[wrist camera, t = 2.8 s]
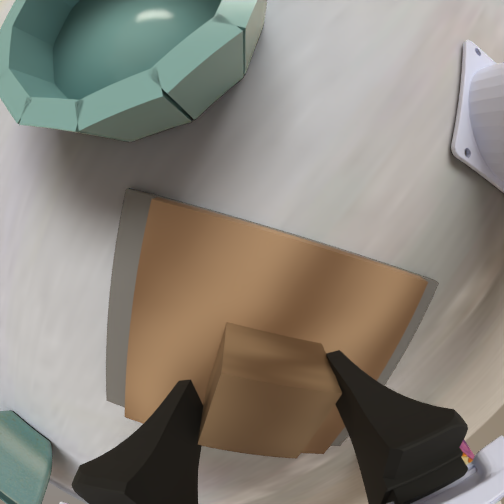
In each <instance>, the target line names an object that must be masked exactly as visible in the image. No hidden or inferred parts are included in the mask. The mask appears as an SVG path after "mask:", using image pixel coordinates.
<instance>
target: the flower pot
mask: <svg viewBox="0 0 504 504" xmlns="http://www.w3.org/2000/svg"><path fill="white" fill-rule="evenodd" d="M51 469H52V448H51V443H50V442H49V441H48V440H47V439H46V438H44V437H43V436H42V435H40V434H39V433H38V432H36V431H35V430H34V429H33V428H31V427H30V426H29V425H28V424H27V423H25V422H24V421H23V420H22V419H21V418H20V417H18V416H17V415H16V414H15V413H14V412H13V411H11V410H10V411H0V499H1V500H2V501H4V502H5V503H6V504H42V501H43V498H44V495H45V492H46V489H47V485H48V482H49V479H50V475H51Z"/></svg>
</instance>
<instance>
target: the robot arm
mask: <svg viewBox="0 0 504 504" xmlns="http://www.w3.org/2000/svg"><path fill="white" fill-rule="evenodd" d="M451 149H452V153H453V155H454V156H455V157H456V158H458V159H459V160H460V161H462V162H463V163H465V164H466V165H468V166H469V167H470V168H472V169H473V170H475V171H476V172H477V173H479V174H480V175H481V176H483V177H484V178H485V179H487V180H488V181H489V182H490V183H492V184H493V185H494V186H495V187H497V188H498V189H499V190H500V191H502V192H503V193H504V62H501V63H498V64H497V63H496V62H494V61H493V60H492V59H491V58H490V57H489V56H488V55H487V54H486V53H485V52H483V51H482V50H481V49H480V48H479V47H478V46H476V45H475V44H474V43H473V42H472V41H470V40H467V41H465V42H463V59H462V74H461V85H460V94H459V102H458V109H457V116H456V122H455V128H454V134H453V139H452V144H451ZM465 150H466V156H465ZM326 356H327V359H328V361H329V364H330V366H331V368H332V371H333V372H334V374H335V376H336V379H337V381H338V384H339V386H340V389H341V391H342V395H341V396H340V398H339V399H338V401H337V402H336V404H335V405H336V407H337V409H338V411H339V414H340V416H341V418H342V420H343V423H344V425H345V427H346V429H347V432H348V434H349V436H350V438H351V441H352V444H353V446H354V450H355V453H356V456H357V460H358V463H359V467H360V470H361V474H362V478H363V482H364V486H365V490H366V494H367V498H368V502H369V504H495V503H496V502H498V501H499V500H500V499H502V498H503V497H504V437H503V436H499V437H498V438H496V439H495V440H494V441H492V442H491V443H490V444H488V445H487V446H485V447H484V448H482V449H481V450H480V451H479V452H478V453H477V454H476V455H475V457H474V459H473V461H472V462H470V463H469V464H467V465H466V464H465V462H464V461H463V459H462V457H461V456H462V455H463V452H462V450H461V449H460V445H461V444H462V442H463V440H464V438H465V436H466V433H467V430H468V427H467V424H466V423H465V421H464V420H463V419H462V417H461V416H460V415H459V414H458V413H457V412H456V411H455V410H454V409H448V408H442V407H437V406H432V405H429V404H425V403H422V402H419V401H416V400H413V399H411V398H408V397H405V396H403V395H401V394H399V393H397V392H395V391H393V390H391V389H389V388H387V387H386V386H384V385H382V384H381V383H379V382H378V381H376V380H375V379H373V378H372V377H371V376H369V375H368V374H367V373H365V372H364V371H363V370H361V369H360V368H359V367H358V366H357V365H355V364H354V363H353V362H352V361H351V360H350V359H349V358H348V357H347V356H346V355H345V354H344V353H343V352H342V351H340V350H338V351H334V352H330V353H326ZM202 412H203V404H202V402H201V400H200V398H199V396H198V393H197V391H196V389H195V387H194V385H193V383H192V381H191V379H190V380H181V381H178V382H177V384H176V385H175V386H174V388H173V389H172V390H171V392H170V393H169V394H168V395H167V397H166V398H165V399H164V401H163V402H162V403H161V404H160V406H159V407H158V408H157V409H156V410H155V412H154V413H153V414H152V415H151V416H150V417H149V418H148V419H147V421H146V422H145V423H144V424H143V425H142V426H141V427H140V428H139V429H138V430H136V431H135V432H134V433H133V434H132V435H131V436H130V437H128V438H127V439H126V440H124V441H123V442H122V443H120V444H119V445H118V446H116V447H115V448H113V449H112V450H110V451H108V452H107V453H105V454H103V455H101V456H100V457H98V458H96V459H93V460H91V461H89V462H87V463H85V464H82V465H80V466H79V469H78V471H77V473H76V475H75V478H74V480H73V482H72V488H73V490H74V491H75V492H76V493H77V494H78V495H79V496H80V497H82V498H83V499H84V500H85V501H87V502H88V503H89V504H198V465H199V458H200V452H201V446H202V445H198V438H199V431H200V424H201V418H202ZM59 504H68V503H65V502H62V501H61V502H60V503H59Z"/></svg>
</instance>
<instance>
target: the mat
mask: <svg viewBox="0 0 504 504" xmlns="http://www.w3.org/2000/svg"><path fill="white" fill-rule="evenodd" d="M156 197H159V198H162V199H166V200H170V201H174V202H177V203H181V204H185V205H188V206H192V207H196V208H199V209H203V210H207V211H210V212H214V213H217V214H221V215H224V216H228V217H231V218H235V219H238V220H242V221H245V222H249V223H252V224H256V225H259V226H262V227H266V228H269V229H273V230H276V231H279V232H283V233H286V234H289V235H293V236H296V237H299V238H302V239H306V240H309V241H312V242H315V243H319V244H322V245H325V246H328V247H332V248H335V249H338V250H341V251H344V252H347V253H351V254H354V255H357V256H360V257H363V258H366V259H369V260H372V261H375V262H378V263H381V264H384V265H388V266H391V267H394V268H397V269H400V270H403V271H406V272H408V273H411V274H414V275H417V276H420V277H422V278H423V279H425V280H426V281H427V282H428V284H427V286H426V289H425V291H424V293H423V295H422V298H421V300H420V302H419V304H418V306H417V308H416V310H415V312H414V315H413V317H412V319H411V321H410V323H409V325H408V327H407V329H406V330H405V332H404V334H403V336H402V338H401V340H400V342H399V344H398V345H397V347H396V349H395V351H394V353H393V354H392V356H391V358H390V360H389V361H388V363H387V365H386V366H385V368H384V370H383V371H382V373H381V375H380V376H379V378H378V379H377V381H378V382H379V383H381V384H382V385H385V384H386V382H387V380H388V379H389V377H390V376H391V374H392V372H393V371H394V369H395V368H396V366H397V364H398V363H399V361H400V359H401V357H402V356H403V354H404V352H405V351H406V349H407V347H408V345H409V343H410V342H411V340H412V338H413V336H414V334H415V332H416V330H417V328H418V326H419V324H420V322H421V320H422V318H423V316H424V314H425V312H426V310H427V308H428V306H429V304H430V302H431V300H432V297H433V295H434V293H435V291H436V288H437V286H438V284H439V283H438V282H437V281H435V280H433V279H430V278H427V277H424V276H421V275H418V274H415V273H412V272H409V271H407V270H404V269H401V268H398V267H395V266H392V265H389V264H386V263H383V262H380V261H377V260H374V259H371V258H367V257H364V256H361V255H358V254H355V253H352V252H349V251H346V250H343V249H339V248H336V247H333V246H330V245H327V244H324V243H320V242H317V241H314V240H311V239H307V238H304V237H301V236H298V235H294V234H291V233H288V232H284V231H281V230H278V229H274V228H271V227H268V226H264V225H261V224H258V223H254V222H251V221H247V220H244V219H240V218H237V217H233V216H230V215H226V214H223V213H219V212H216V211H212V210H209V209H205V208H201V207H198V206H194V205H190V204H187V203H183V202H179V201H176V200H172V199H168V198H165V197H161V196H157V195H153V194H149V193H146V192H142V191H138V190H134V189H130V188H129V189H126V192H125V197H124V202H123V207H122V212H121V217H120V223H119V228H118V234H117V240H116V247H115V254H114V261H113V269H112V277H111V286H110V297H109V309H108V324H107V346H106V394H107V401H110V402H112V403H115V404H117V405H120V406H123V407H125V386H126V367H127V353H128V341H129V331H130V322H131V313H132V305H133V297H134V290H135V283H136V277H137V270H138V264H139V258H140V253H141V247H142V242H143V237H144V232H145V227H146V222H147V217H148V212H149V208H150V204H151V199H153V198H156ZM348 435H349V434H348V432H347V429H346V427H344V429H343V430H342V431H341V433H340V434H339V435H338V437H337V438H336V439H335V440H334V442H333V443H332V444H331V445H330V446H340V445H341V444H342V443H343V441H344V440H345V439H346V438H347V436H348Z"/></svg>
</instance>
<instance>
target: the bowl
mask: <svg viewBox="0 0 504 504" xmlns="http://www.w3.org/2000/svg"><path fill="white" fill-rule="evenodd" d="M266 6H267V0H16V1H15V2H14V4H13V6H12V8H11V10H10V11H9V13H8V15H7V17H6V19H5V21H4V23H3V25H2V27H1V29H0V98H1V100H2V101H3V103H4V104H5V106H6V107H7V109H8V111H9V112H10V114H11V115H12V116H13V118H14V119H15V121H16V122H17V123H18V124H19V125H26V126H34V127H42V128H49V129H56V130H63V131H69V132H75V133H81V134H87V135H93V136H99V137H105V138H110V139H116V140H121V141H126V142H129V141H130V142H133V141H135V140H138V139H141V138H144V137H146V136H149V135H152V134H155V133H158V132H161V131H164V130H167V129H170V128H173V127H176V126H180V125H183V124H186V123H190V122H192V121H191V117H192V118H193V119H194V120H195V119H197V118H198V117H199V116H200V115H201V114H202V113H203V112H204V111H205V110H206V109H207V108H208V107H209V106H211V105H212V104H213V103H214V102H215V101H216V100H217V99H218V98H220V97H221V96H222V95H223V94H224V93H225V92H227V91H228V90H229V89H230V88H231V87H232V86H234V85H235V84H236V83H237V82H238V81H240V80H241V79H242V78H243V74H244V75H245V74H246V71H247V69H248V66H249V63H250V60H251V58H252V55H253V52H254V50H255V47H256V44H257V42H258V39H259V36H260V34H261V31H262V29H263V26H264V20H265V13H266ZM190 116H191V117H190Z"/></svg>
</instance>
